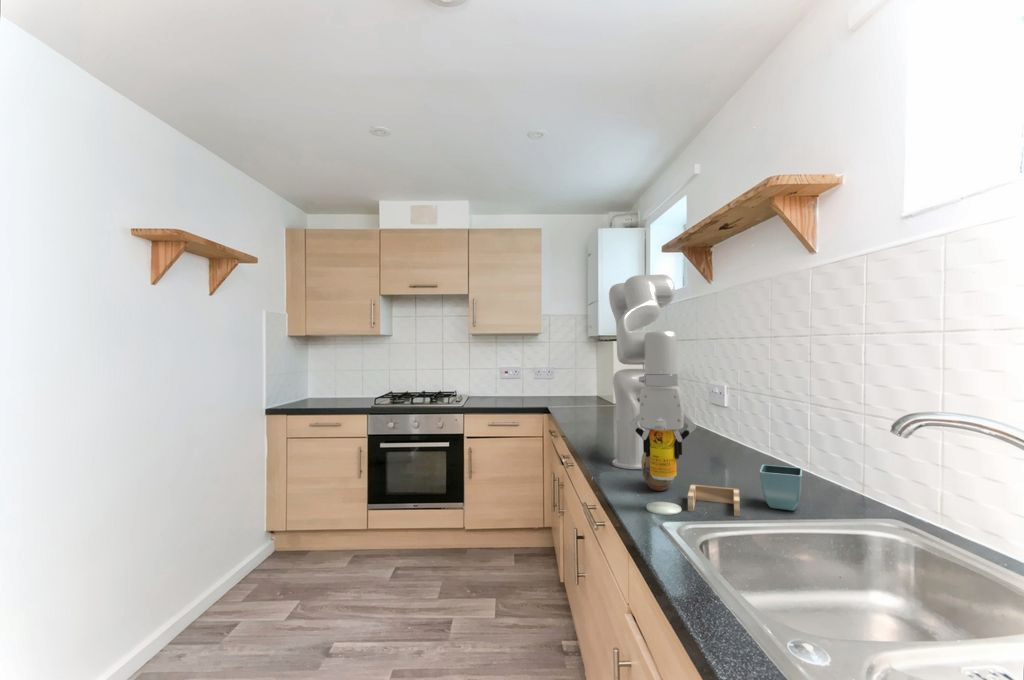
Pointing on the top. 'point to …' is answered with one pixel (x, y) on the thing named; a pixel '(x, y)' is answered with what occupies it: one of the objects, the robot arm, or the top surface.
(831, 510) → the top surface
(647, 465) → the ceramic vessel
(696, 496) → the cradle
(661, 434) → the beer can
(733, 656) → the top surface
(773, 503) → the flower pot
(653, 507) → the coaster
